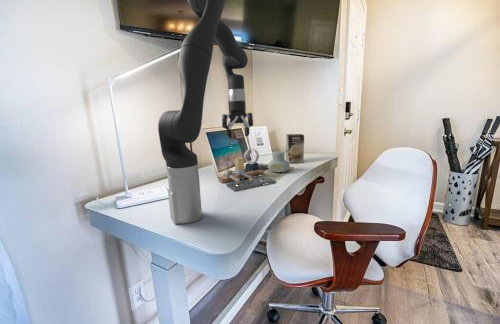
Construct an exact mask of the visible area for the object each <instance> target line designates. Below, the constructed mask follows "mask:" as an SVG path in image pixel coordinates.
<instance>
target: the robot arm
mask: <svg viewBox="0 0 500 324" xmlns="http://www.w3.org/2000/svg"><path fill="white" fill-rule="evenodd" d="M187 2H188V4H189V5H188V6H189V7H190V9H191V10H192V12H193V13H194V15H195V16H196V17H197V18H198V19H199V21H198V22H197V23H196V24H195V26H193V27H192V28H191V30H190V31H189V32H188V34H187V35H186V37H184V39H183V41H182V43H181V46H180V50H179V55H178V61H177V70H178V74H179V76H180V79H181V84H182V86H183V99H182V105H181V108H180V110H178V109H177V110H166V111H164V112H162V113H161V115H160V117H159V120H158V123H157V131H158V132H157V133H158V136H159V137H158V138H159V144H160V150H161V155H162V157H163V160H164V161H165V166H166V174H167V181H168V182H167V183H168V188H167V196H168V203H169V204H168V205H169V214H170V218H171V220H172V222H173V223H174V225H178V224H182V225H183V224H190V223H191V224H192V223H195V222H196V221H199V220H200V219H201V218H202V217H203V208H202V207H203V206H202V198H201V197H202V196H201V185H200V173H199V161H198V159H199V158H198V155H197V153H196V152H193V151H192V150H191V149H190V148H189V147H188V146H187V144H190V143H194V142H195V141H196V140H197V139H198V137H199V136H200V133H201V130H202V124H203V111H204V102H205V101H204V100H205V93H206V87H207V82H208V76H209V73H210V72H209V71H210V69H211V63H212V57H213V52H214V51H213V50H214V45H215V43H216V45H217V47H218V48H219V50H220V52H221V54H222V57H221V60H222V61H221V62H222V65H223V68H224V71H225V74H226V78H227V79H226V80H227V90H228V91H227V100H228V101H227V105H228V114H224V113H223V114H222V115H221V119H222V120H221V124H222V125H221V127H222V129H226V137H227V138H229V139H231V138H232V128H233V126H234V125H237V124H242V125H243V126H244V136H245V137H249V135H250V128H251V127H253V126H254V120H253V113H252V112H246V111H247V109H246V108H247V105H246V93H245V78H244V75H242V74H237V73H234V71H233V70H237V69H239V70H240V69H244V68H245V67H247V65H248V62H249V61H248V59H249V58H248V55H247V53H246V51H245V50H244V49H243V48H242V46H241V45H240V44H239V43H238V42H237V40H236V36H235V35H234V33H233V32H232V30H231V28H230V27H229V26H228V25H227V24H226V23H225V22H223V21H222V20H221V18H222V15H223V11H224V6H225V2H226V0H187ZM246 118H247V120H246ZM228 119H229V121H228Z"/></svg>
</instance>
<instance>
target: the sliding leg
mask: <svg viewBox="0 0 500 324" xmlns="http://www.w3.org/2000/svg"><path fill="white" fill-rule="evenodd" d="M234 164H235V165H234V166H235V168H234V170H235V171H234V172H235V174H237V175H242V176H244V177H246V178H248V179H247V180H250V181H252V179H253V178H252V177H251V176H249V175H247V174H245V172H246V168H245V159H244V157H242V156H238V157H235V158H234Z"/></svg>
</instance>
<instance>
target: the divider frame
mask: <svg viewBox="0 0 500 324" xmlns="http://www.w3.org/2000/svg"><path fill="white" fill-rule="evenodd" d="M233 173H234V172H233V170H231V169H230V168H227V169H223V176H219V177H218V182H219V183H221V184H229V183H234V182H238V184H240V181H241V180H240V179H239V178H246V177H244V176H242V175H237V174H233ZM245 174H247V175H249V176H251V177H254V176H259V175H264V176H265V171H264V170H261V169H256V170H254V171H245ZM259 177H260V176H259ZM254 178H255V177H254Z"/></svg>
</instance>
